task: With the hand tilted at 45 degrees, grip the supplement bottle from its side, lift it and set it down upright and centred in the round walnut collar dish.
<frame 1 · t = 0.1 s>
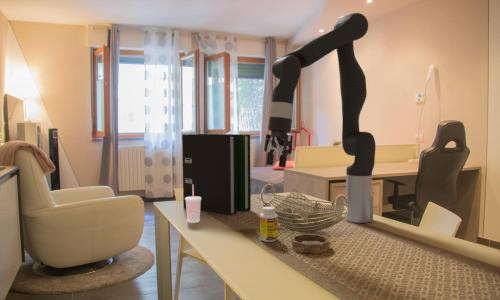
hand: (275, 166, 128), 22 cm above the table, tool pointing down, fingers open, 8 cm apart
collar dish: (310, 248, 114), on the table
binder: (216, 209, 168), on the table
supplement bottle: (268, 240, 122), on the table
beverage cup: (193, 221, 146), on the table
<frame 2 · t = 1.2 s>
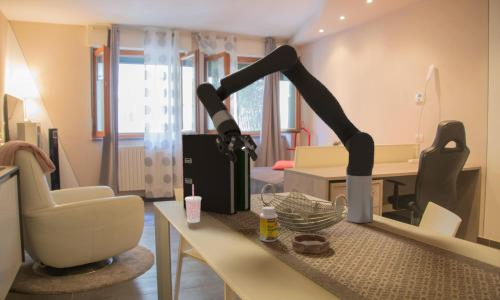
hand: (245, 160, 130), 24 cm above the table, tool tilted 45°, fingers open, 8 cm apart
nothing on the table moved.
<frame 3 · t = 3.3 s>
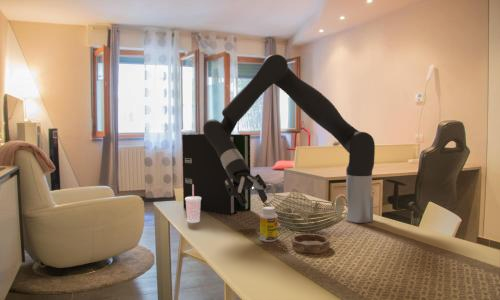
hand: (255, 202, 127), 11 cm above the table, tool tilted 45°, fingers open, 8 cm apart
nothing on the table moved.
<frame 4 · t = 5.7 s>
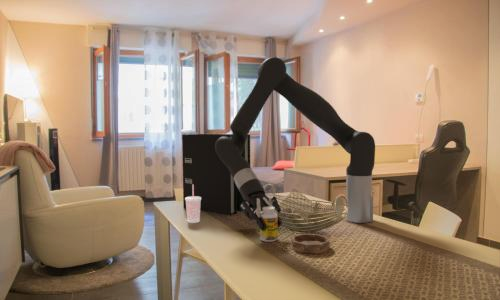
hand: (272, 227, 121), 4 cm above the table, tool tilted 45°, fingers closed on supplement bottle, 5 cm apart
supplement bottle: (268, 240, 122), on the table, touching gripper
everything else where it was.
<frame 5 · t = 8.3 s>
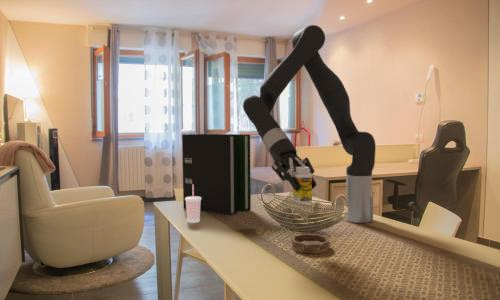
hand: (306, 188, 113), 18 cm above the table, tool tilted 45°, fingers closed on supplement bottle, 5 cm apart
supplement bottle: (302, 202, 115), point 13 cm above the table, touching gripper
everything else where it was.
when the fingers open (7 cm above the table, at t = 11.2 s): supplement bottle drops 1 cm, resting on collar dish.
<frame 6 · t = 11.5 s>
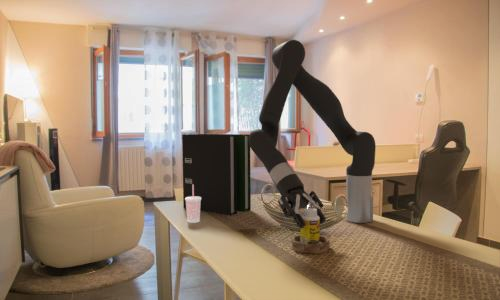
hand: (313, 224, 112), 7 cm above the table, tool tilted 45°, fingers open, 8 cm apart
supplement bottle: (310, 244, 114), point 1 cm above the table, touching collar dish
everything else where it was.
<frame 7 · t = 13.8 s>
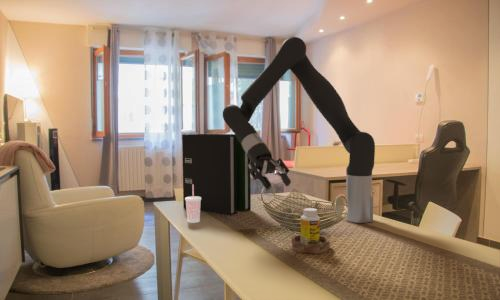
hand: (279, 186, 126), 16 cm above the table, tool tilted 45°, fingers open, 8 cm apart
nothing on the table moved.
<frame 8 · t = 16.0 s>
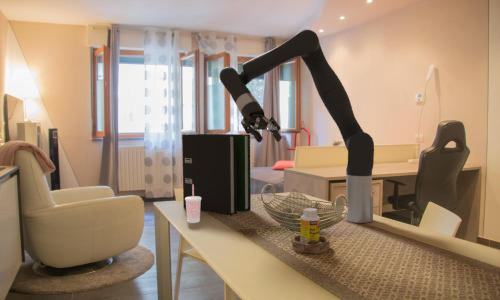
hand: (270, 140, 134), 31 cm above the table, tool tilted 45°, fingers open, 8 cm apart
nothing on the table moved.
at the end: supplement bottle 0.2 cm from the collar dish (horizontally); supplement bottle tilted 0°; the gripper is holding nothing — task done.
